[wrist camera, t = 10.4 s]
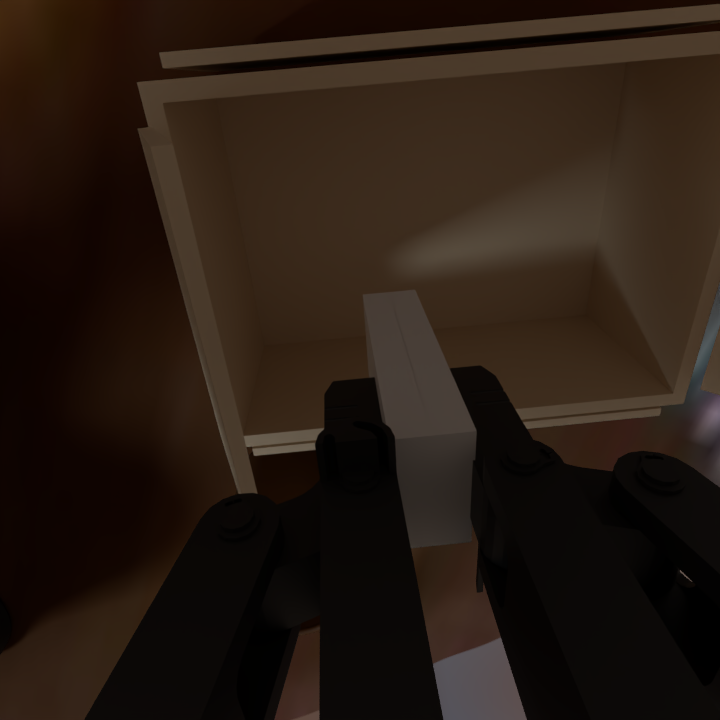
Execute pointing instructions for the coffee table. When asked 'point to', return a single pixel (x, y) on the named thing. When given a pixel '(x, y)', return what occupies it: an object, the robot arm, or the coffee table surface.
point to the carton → (458, 208)
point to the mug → (287, 488)
